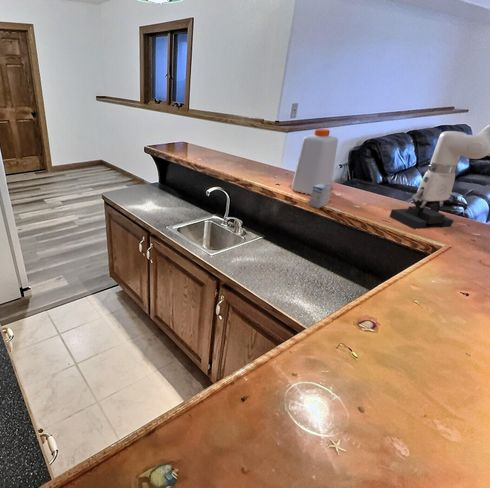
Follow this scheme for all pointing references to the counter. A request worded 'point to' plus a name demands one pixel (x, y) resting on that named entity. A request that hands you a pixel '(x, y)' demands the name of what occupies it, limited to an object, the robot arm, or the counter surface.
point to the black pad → (428, 215)
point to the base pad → (415, 219)
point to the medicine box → (320, 195)
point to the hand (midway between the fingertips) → (424, 215)
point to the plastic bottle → (315, 161)
